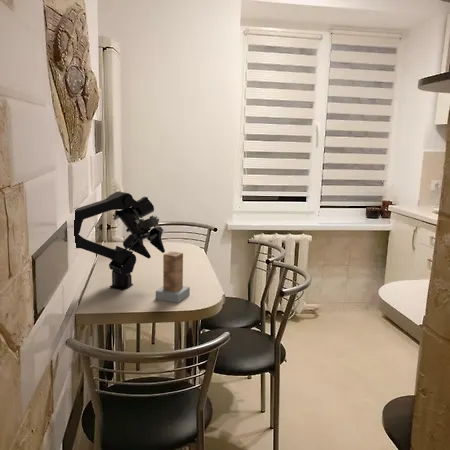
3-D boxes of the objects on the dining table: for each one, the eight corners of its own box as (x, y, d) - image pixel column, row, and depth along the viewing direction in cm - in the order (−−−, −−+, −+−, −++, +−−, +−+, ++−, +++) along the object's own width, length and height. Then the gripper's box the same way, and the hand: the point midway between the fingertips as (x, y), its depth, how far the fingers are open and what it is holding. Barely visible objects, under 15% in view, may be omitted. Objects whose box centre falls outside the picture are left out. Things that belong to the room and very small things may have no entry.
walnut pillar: (163, 289, 159) (163, 254, 157) (170, 285, 164) (170, 251, 161) (175, 292, 157) (175, 256, 155) (182, 287, 162) (183, 253, 159)
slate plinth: (155, 299, 159) (155, 290, 158) (167, 291, 167) (167, 283, 166) (178, 303, 155) (178, 294, 155) (189, 294, 164) (189, 286, 163)
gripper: (129, 212, 156) (155, 247, 153) (159, 205, 172) (183, 237, 170) (111, 231, 161) (137, 266, 158) (142, 223, 177) (166, 254, 175)
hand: (157, 255), depth 165 cm, fingers open, 9 cm apart
